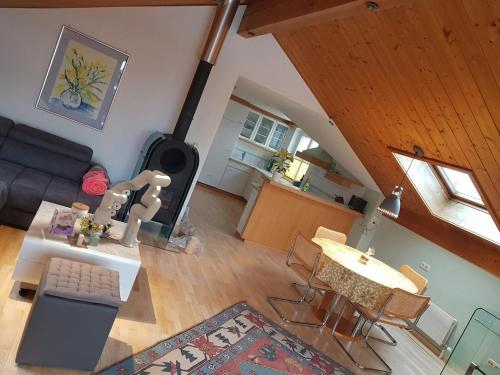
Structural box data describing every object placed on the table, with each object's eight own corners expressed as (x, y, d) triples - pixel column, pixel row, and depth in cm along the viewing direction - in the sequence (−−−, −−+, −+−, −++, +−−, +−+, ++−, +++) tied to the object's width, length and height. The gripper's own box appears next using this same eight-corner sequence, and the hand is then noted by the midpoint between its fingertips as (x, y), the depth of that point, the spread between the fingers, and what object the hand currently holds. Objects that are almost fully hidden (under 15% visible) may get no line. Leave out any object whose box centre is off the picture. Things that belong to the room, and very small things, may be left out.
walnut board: (82, 238, 271) (84, 232, 270) (87, 249, 256) (90, 243, 256) (66, 235, 264) (68, 229, 263) (70, 247, 250) (72, 240, 249)
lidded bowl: (66, 212, 306) (71, 199, 304) (82, 214, 315) (87, 201, 313) (71, 218, 297) (76, 205, 296) (87, 220, 306) (92, 207, 304)
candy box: (49, 233, 257) (57, 210, 255) (47, 229, 261) (55, 207, 259) (70, 235, 267) (78, 214, 265) (68, 232, 271) (76, 210, 269)
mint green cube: (95, 244, 269) (98, 235, 268) (96, 247, 265) (100, 238, 264) (87, 243, 266) (90, 234, 265) (89, 246, 262) (92, 237, 261)
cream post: (80, 244, 258) (83, 234, 257) (80, 246, 256) (84, 236, 255) (76, 243, 256) (79, 234, 256) (76, 245, 254) (80, 235, 253)
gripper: (116, 208, 270) (107, 231, 272) (91, 203, 260) (82, 226, 261) (119, 212, 264) (110, 235, 266) (93, 207, 254) (84, 230, 255)
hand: (96, 230), depth 263 cm, fingers open, 9 cm apart
